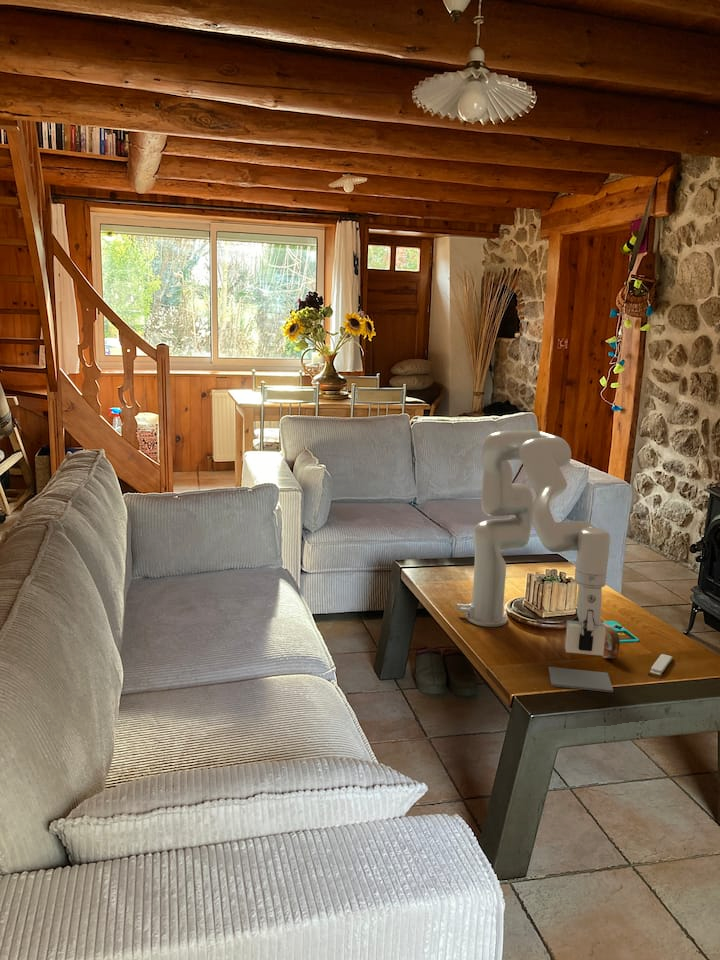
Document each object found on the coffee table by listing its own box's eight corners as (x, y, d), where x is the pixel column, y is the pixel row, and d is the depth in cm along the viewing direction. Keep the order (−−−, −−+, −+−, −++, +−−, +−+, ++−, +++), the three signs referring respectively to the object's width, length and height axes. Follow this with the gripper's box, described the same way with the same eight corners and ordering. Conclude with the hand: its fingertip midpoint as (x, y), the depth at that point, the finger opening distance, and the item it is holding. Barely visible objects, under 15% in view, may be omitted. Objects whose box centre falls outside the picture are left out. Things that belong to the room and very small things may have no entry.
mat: (551, 685, 191) (551, 683, 191) (548, 668, 200) (548, 666, 200) (613, 692, 188) (613, 690, 188) (607, 674, 198) (607, 672, 198)
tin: (583, 641, 219) (586, 613, 218) (593, 640, 220) (596, 613, 218) (609, 663, 205) (612, 634, 203) (619, 663, 205) (623, 634, 204)
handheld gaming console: (615, 619, 235) (640, 639, 220) (614, 623, 235) (640, 643, 220) (589, 620, 233) (613, 640, 219) (589, 623, 233) (613, 644, 219)
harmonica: (661, 658, 211) (662, 651, 210) (673, 661, 209) (673, 654, 209) (647, 676, 199) (648, 669, 199) (659, 679, 197) (660, 672, 197)
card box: (603, 655, 190) (605, 629, 188) (566, 652, 191) (568, 626, 190) (600, 649, 194) (603, 623, 192) (564, 645, 195) (567, 620, 194)
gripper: (611, 589, 180) (604, 661, 183) (601, 568, 196) (594, 635, 200) (578, 587, 181) (572, 658, 185) (571, 566, 197) (565, 632, 201)
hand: (584, 645), depth 192 cm, fingers closed on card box, 3 cm apart
